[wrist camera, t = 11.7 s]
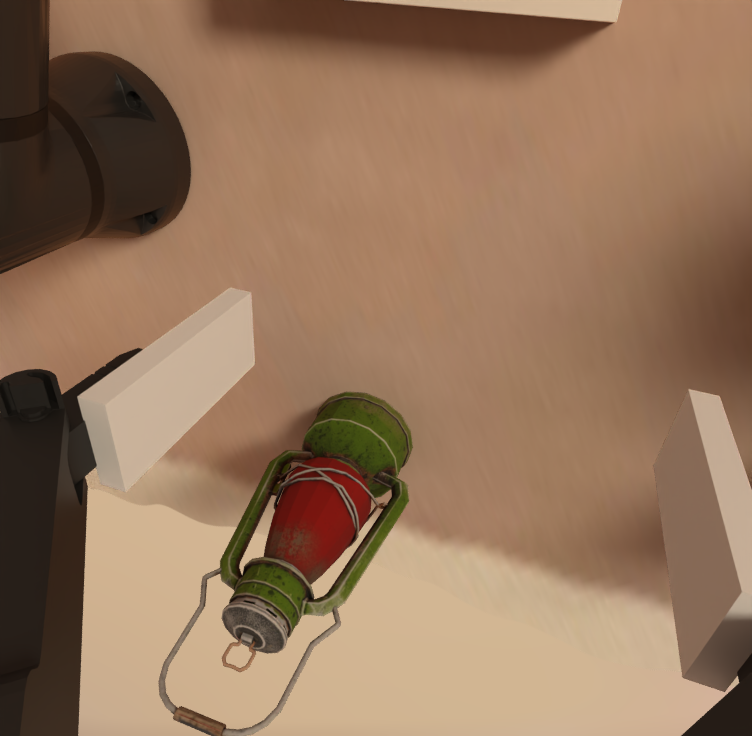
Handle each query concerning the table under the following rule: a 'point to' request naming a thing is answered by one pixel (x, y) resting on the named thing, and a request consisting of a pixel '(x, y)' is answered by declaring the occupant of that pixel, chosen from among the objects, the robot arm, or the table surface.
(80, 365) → the table surface
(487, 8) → the tray
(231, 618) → the lantern
